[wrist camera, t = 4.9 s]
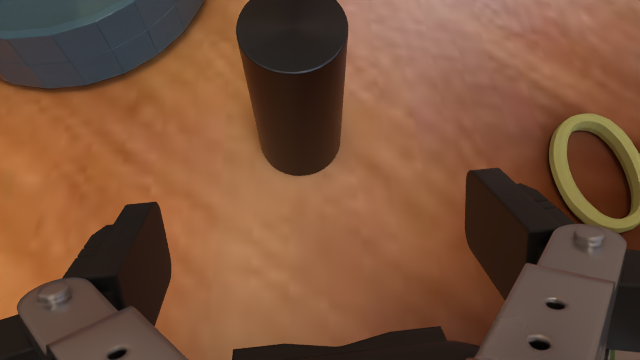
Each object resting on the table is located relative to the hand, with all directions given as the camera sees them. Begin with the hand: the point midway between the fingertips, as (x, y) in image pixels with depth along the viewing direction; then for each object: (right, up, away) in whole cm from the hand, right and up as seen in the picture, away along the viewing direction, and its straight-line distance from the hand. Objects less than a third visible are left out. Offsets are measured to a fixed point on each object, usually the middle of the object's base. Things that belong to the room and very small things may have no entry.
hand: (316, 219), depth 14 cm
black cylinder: (-1, +3, +19) cm, 19 cm away
